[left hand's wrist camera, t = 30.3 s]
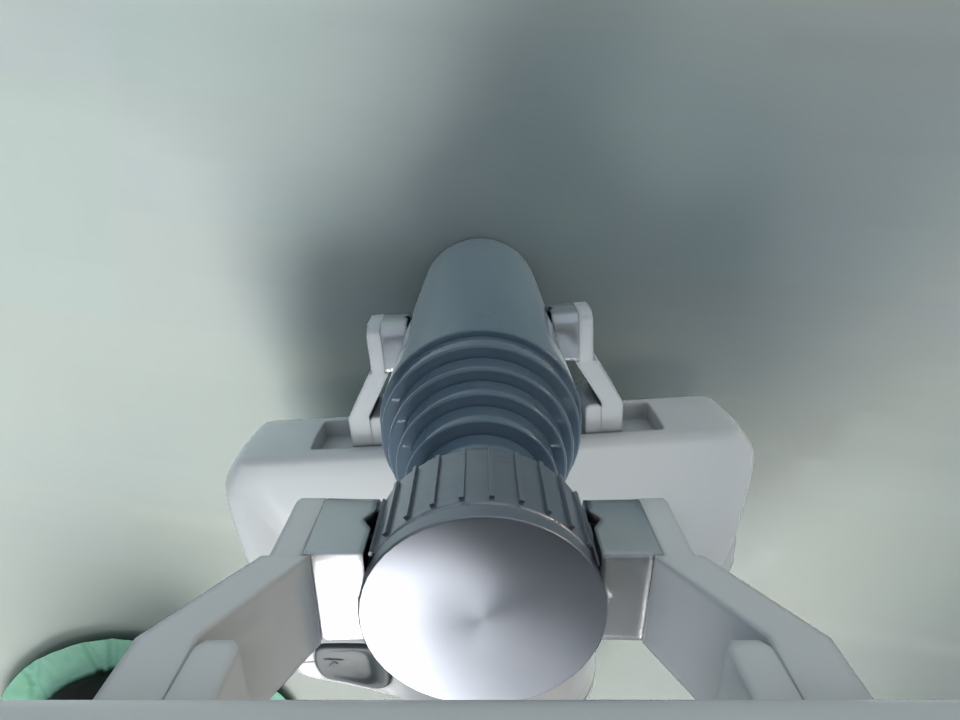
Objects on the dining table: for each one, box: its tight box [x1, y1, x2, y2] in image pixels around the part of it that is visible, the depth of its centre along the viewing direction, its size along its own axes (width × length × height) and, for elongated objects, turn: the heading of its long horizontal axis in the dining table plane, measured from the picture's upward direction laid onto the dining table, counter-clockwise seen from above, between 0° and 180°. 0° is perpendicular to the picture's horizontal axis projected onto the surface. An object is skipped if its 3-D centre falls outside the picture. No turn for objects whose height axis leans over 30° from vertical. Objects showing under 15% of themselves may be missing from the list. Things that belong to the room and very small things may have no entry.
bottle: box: [380, 238, 582, 482], centre depth 18 cm, size 5×5×18 cm
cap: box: [357, 447, 608, 700], centre depth 10 cm, size 4×4×2 cm
